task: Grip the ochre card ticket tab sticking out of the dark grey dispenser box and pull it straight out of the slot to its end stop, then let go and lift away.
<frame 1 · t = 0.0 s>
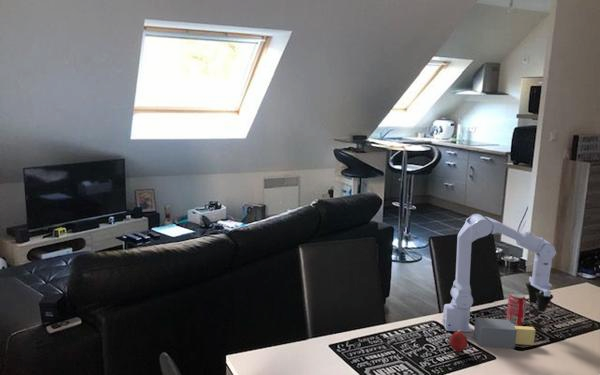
hand: (536, 306, 179), 10 cm above the table, tool pointing down, fingers open, 7 cm apart
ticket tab: (510, 334, 172), point 3 cm above the table, slide at 2.0 cm
onion: (457, 352, 165), on the table
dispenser: (493, 341, 173), on the table
beverage can: (514, 324, 187), on the table
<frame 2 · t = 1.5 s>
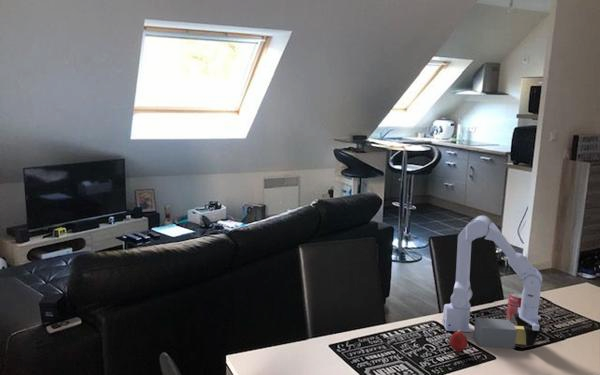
hand: (525, 340, 172), 1 cm above the table, tool pointing down, fingers open, 7 cm apart
nothing on the table moved.
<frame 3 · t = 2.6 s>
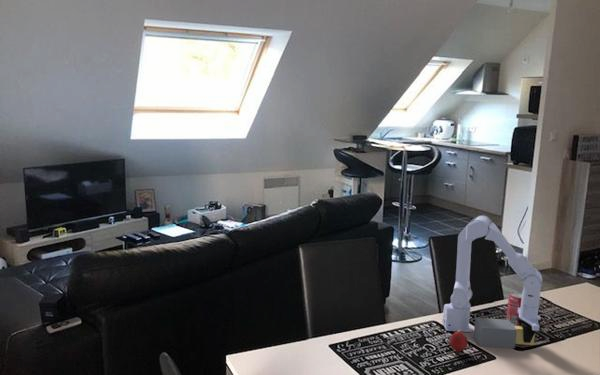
hand: (525, 340, 172), 1 cm above the table, tool pointing down, fingers closed on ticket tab, 2 cm apart
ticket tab: (510, 334, 172), point 3 cm above the table, slide at 2.0 cm, touching gripper
everything else where it was.
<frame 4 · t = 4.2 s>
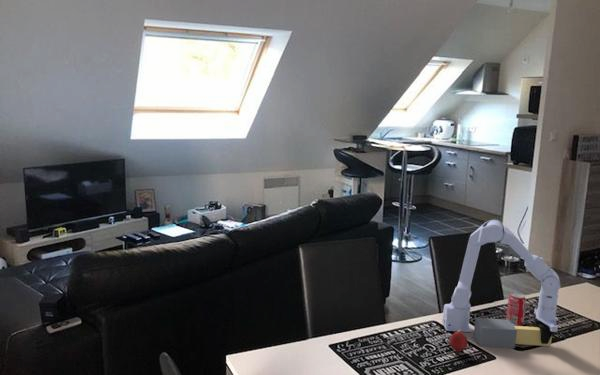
hand: (542, 341, 171), 1 cm above the table, tool pointing down, fingers closed on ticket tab, 2 cm apart
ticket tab: (527, 335, 171), point 3 cm above the table, slide at 7.9 cm, touching gripper
everything else where it was.
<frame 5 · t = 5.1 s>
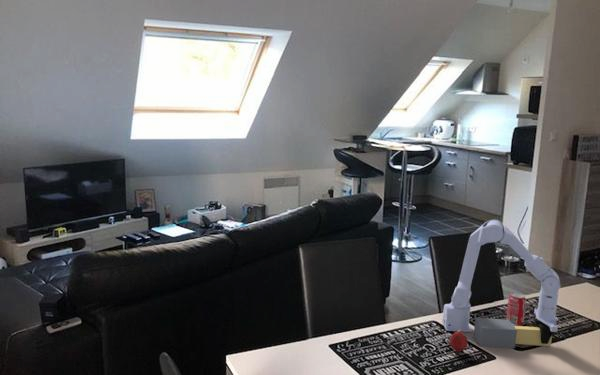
hand: (542, 341, 171), 1 cm above the table, tool pointing down, fingers closed on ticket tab, 2 cm apart
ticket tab: (527, 335, 171), point 3 cm above the table, slide at 7.9 cm, touching gripper
everything else where it was.
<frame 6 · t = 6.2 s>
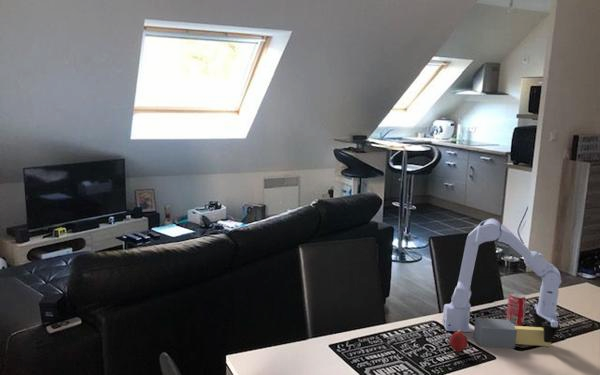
hand: (542, 336, 171), 3 cm above the table, tool pointing down, fingers open, 7 cm apart
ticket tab: (527, 335, 171), point 3 cm above the table, slide at 7.9 cm
everything else where it was.
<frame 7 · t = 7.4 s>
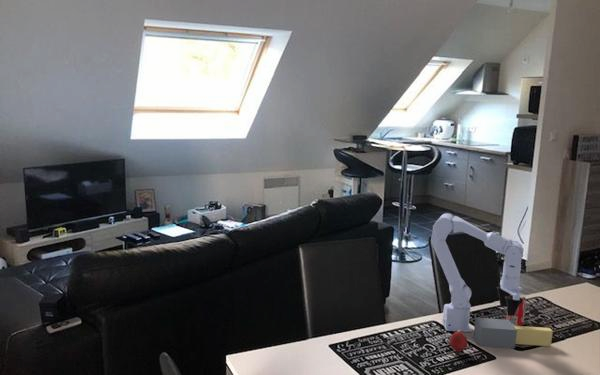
hand: (507, 310, 174), 10 cm above the table, tool pointing down, fingers open, 7 cm apart
nothing on the table moved.
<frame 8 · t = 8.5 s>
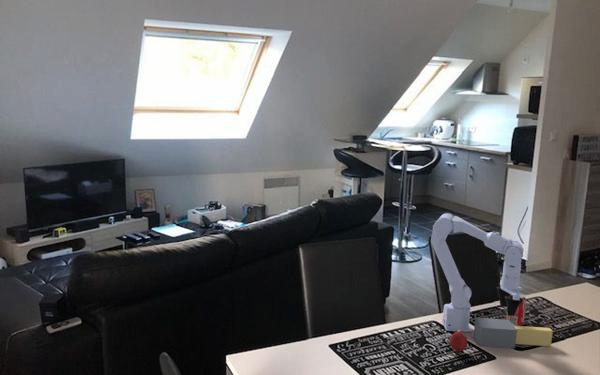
hand: (507, 310, 174), 10 cm above the table, tool pointing down, fingers open, 7 cm apart
nothing on the table moved.
at the end: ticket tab slide at 7.9 cm; the gripper is holding nothing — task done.
